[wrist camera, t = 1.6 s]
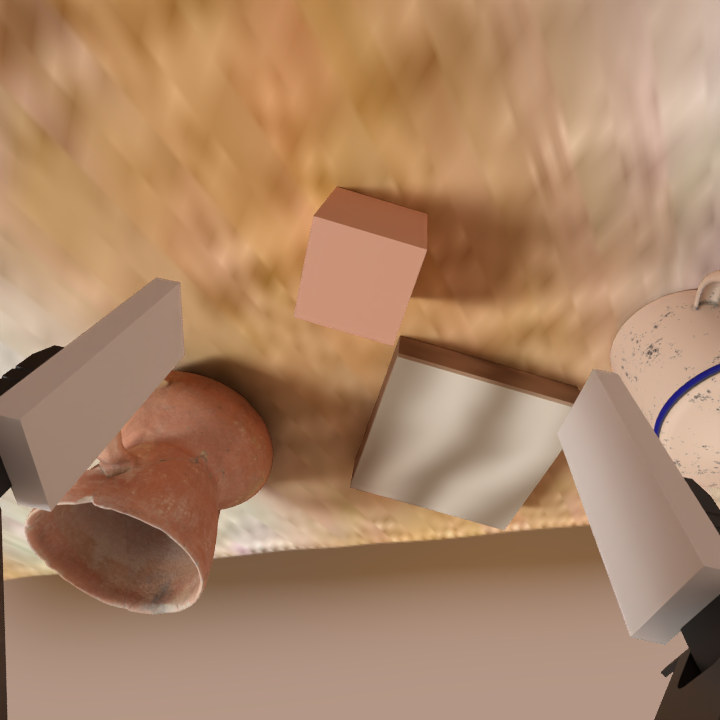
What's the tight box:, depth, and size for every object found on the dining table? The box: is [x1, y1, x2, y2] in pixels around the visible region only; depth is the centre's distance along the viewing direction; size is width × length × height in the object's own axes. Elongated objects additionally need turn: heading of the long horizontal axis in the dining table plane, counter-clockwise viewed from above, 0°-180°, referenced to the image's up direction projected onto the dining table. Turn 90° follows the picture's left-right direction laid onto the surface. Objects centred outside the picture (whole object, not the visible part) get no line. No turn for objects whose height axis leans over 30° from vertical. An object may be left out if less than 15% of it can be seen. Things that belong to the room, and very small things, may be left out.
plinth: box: [350, 336, 580, 530], centre depth 36 cm, size 14×14×3 cm
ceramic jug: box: [25, 370, 273, 614], centre depth 36 cm, size 18×14×14 cm
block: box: [294, 187, 427, 346], centre depth 27 cm, size 6×6×7 cm
